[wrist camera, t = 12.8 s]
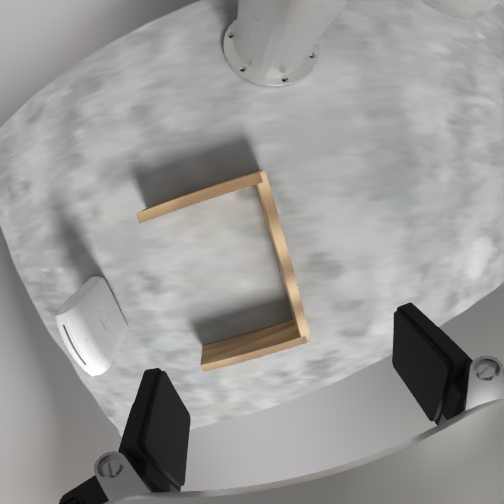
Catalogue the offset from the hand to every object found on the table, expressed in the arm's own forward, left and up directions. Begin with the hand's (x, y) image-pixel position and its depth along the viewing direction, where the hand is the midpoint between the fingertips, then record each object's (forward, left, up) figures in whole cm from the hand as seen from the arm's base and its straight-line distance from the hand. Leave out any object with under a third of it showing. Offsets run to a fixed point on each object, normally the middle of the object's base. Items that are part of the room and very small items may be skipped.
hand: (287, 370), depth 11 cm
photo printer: (+5, -24, -30) cm, 38 cm away
